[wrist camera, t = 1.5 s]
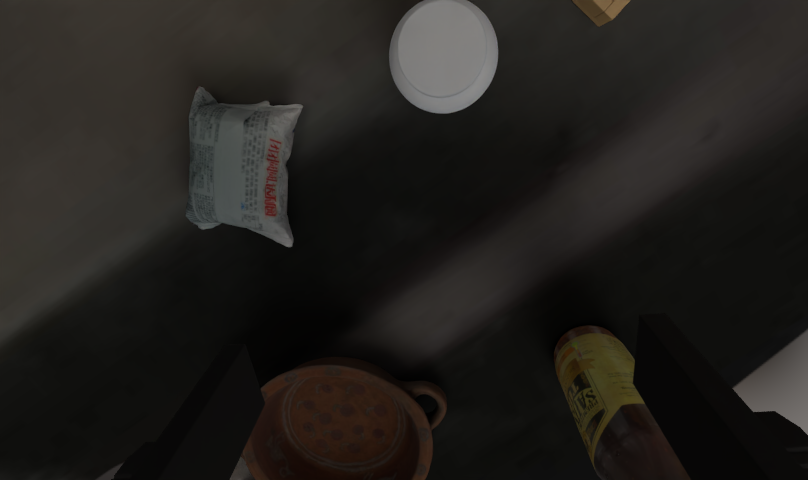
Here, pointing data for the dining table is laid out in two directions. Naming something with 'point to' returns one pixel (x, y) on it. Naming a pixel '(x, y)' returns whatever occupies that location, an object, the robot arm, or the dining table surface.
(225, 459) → the robot arm
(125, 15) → the dining table surface
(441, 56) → the pill bottle
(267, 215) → the packaged food
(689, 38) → the dining table surface
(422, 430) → the dish
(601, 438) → the sauce bottle
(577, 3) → the tray
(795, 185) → the dining table surface
